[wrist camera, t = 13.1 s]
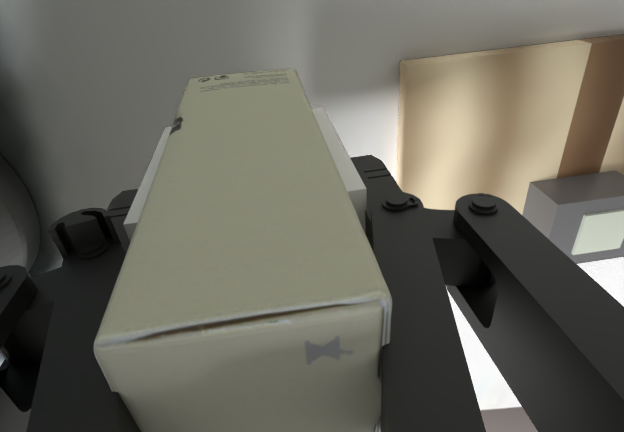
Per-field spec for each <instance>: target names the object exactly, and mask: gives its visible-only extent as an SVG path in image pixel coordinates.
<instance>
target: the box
mask: <svg viewBox="0 0 624 432" xmlns="http://www.w3.org/2000/svg"><path fill="white" fill-rule="evenodd" d="M391 314H392V298H391V295H390V292H389V289H388V287H387V285H386V282H385V280H384V278H383V276H382V273H381V271H380V268H379V265H378V263H377V260H376V258H375V255H374V253H373V251H372V248H371V246H370V244H369V241H368V239H367V237H366V235H365V233H364V230H363V228H362V226H361V224H360V221H359V219H358V216H357V213H356V211H355V208H354V206H353V204H352V202H351V199H350V197H349V195H348V192H347V190H346V188H345V185H344V183H343V180H342V178H341V176H340V174H339V171H338V169H337V166H336V164H335V162H334V160H333V157H332V155H331V153H330V150H329V148H328V146H327V143H326V141H325V139H324V136H323V134H322V132H321V129H320V127H319V125H318V122H317V120H316V118H315V115H314V113H313V111H312V109H311V106H310V104H309V101H308V99H307V97H306V95H305V92H304V90H303V87H302V85H301V82H300V80H299V77H298V75H297V72H296V71H295V70H294V69H281V70H266V71H254V72H244V73H234V74H223V75H213V76H206V77H198V78H192V79H190V80H189V81H188V83H187V86H186V89H185V91H184V94H183V97H182V100H181V103H180V105H179V108H178V111H177V114H176V117H175V120H174V123H173V126H172V128H171V131H170V134H169V137H168V139H167V142H166V145H165V148H164V151H163V153H162V156H161V159H160V161H159V164H158V167H157V170H156V173H155V176H154V179H153V181H152V184H151V187H150V190H149V193H148V195H147V198H146V201H145V203H144V206H143V209H142V212H141V214H140V217H139V220H138V223H137V226H136V229H135V231H134V234H133V237H132V240H131V242H130V245H129V248H128V251H127V253H126V256H125V259H124V262H123V265H122V267H121V270H120V273H119V275H118V278H117V281H116V283H115V286H114V289H113V292H112V295H111V297H110V300H109V303H108V306H107V308H106V311H105V314H104V316H103V319H102V322H101V325H100V328H99V331H98V333H97V336H96V338H95V341H94V354H95V357H96V359H97V361H98V363H99V365H100V367H101V369H102V372H103V374H104V376H105V378H106V380H107V382H108V384H109V386H110V388H111V391H113V392H118V393H119V395H120V396H121V398H122V400H123V402H124V403H125V405H126V407H127V408H128V410H129V412H130V414H131V415H132V417H133V419H134V420H135V422H136V424H137V425H138V427H139V429H140V431H141V432H381V428H380V424H381V367H382V346H383V345H386V344H388V343H389V342H390V331H391Z"/></svg>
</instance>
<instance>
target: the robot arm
mask: <svg viewBox="0 0 624 432" xmlns="http://www.w3.org/2000/svg"><path fill="white" fill-rule="evenodd" d="M311 109H312V111H313V113H314V115H315V118H316V120H317V122H318V125H319V127H320V129H321V132H322V134H323V136H324V139H325V141H326V143H327V146H328V148H329V150H330V153H331V155H332V157H333V160H334V162H335V164H336V166H337V169H338V171H339V174H340V176H341V178H342V180H343V183H344V185H345V188H346V190H347V192H348V195H349V197H350V199H351V202H352V204H353V206H354V208H355V211H356V213H357V216H358V219H359V221H360V224H361V226H362V228H363V230H364V233H365V235H366V237H367V239H368V241H369V244H370V246H371V248H372V251H373V253H374V255H375V258H376V260H377V263H378V265H379V268H380V271H381V273H382V276H383V278H384V280H385V282H386V285H387V287H388V289H389V292H390V295H391V298H392V314H391V331H390V342H389V343H388V344H386V345H383V346H382V367H381V424H380V428H381V432H486V430H485V427H484V423H483V420H482V416H481V412H480V409H479V405H478V402H477V398H476V394H475V391H474V387H473V383H472V380H471V376H470V373H469V369H468V365H467V362H466V358H465V355H464V351H463V347H462V344H461V340H460V336H459V333H458V329H457V326H456V322H455V318H454V315H453V311H452V308H451V304H450V300H449V297H448V293H447V290H448V291H449V293H450V294H451V296H452V298H453V299H454V301H455V302H456V304H457V305H458V307H459V308H460V310H461V312H462V313H463V315H464V316H465V318H466V319H467V321H468V323H469V324H470V326H471V327H472V329H473V330H474V332H475V334H476V335H477V337H478V338H479V340H480V341H481V343H482V344H483V346H484V348H485V349H486V351H487V352H488V354H489V355H490V357H491V359H492V360H493V362H494V363H495V365H496V366H497V368H498V369H499V371H500V373H501V374H502V376H503V377H504V379H505V380H506V382H507V384H508V385H509V387H510V388H511V390H512V391H513V393H514V394H515V396H516V398H517V399H518V401H519V402H520V404H521V405H522V407H523V408H524V410H525V412H526V413H527V415H528V416H529V418H530V420H531V421H532V423H533V424H534V426H535V427H536V429H537V430H538V432H624V307H623V306H622V305H621V304H620V303H619V302H618V301H617V300H616V299H614V298H613V297H612V296H611V295H610V294H609V293H608V292H607V291H606V290H604V289H603V288H602V287H601V286H600V285H599V284H598V283H597V282H596V281H594V280H593V279H592V278H591V277H590V276H589V275H588V274H587V273H586V272H584V271H583V270H582V269H581V268H580V267H579V266H578V265H577V264H576V263H575V262H573V261H572V260H571V259H570V258H569V257H568V256H567V255H566V254H565V253H563V252H562V251H561V250H560V249H559V248H558V247H557V246H556V245H555V244H553V243H552V242H551V241H550V240H549V239H548V238H547V237H546V236H545V235H543V234H542V233H541V232H540V231H539V230H538V229H537V228H536V227H535V226H533V225H532V224H531V223H530V222H529V221H528V220H527V219H526V218H525V217H524V216H522V215H521V214H520V213H519V212H518V211H517V210H516V209H515V208H514V207H512V206H511V205H510V204H509V203H508V202H506V201H505V200H503V199H502V198H499V197H496V196H493V195H491V194H484V193H478V194H468V195H465V196H462V197H460V198H459V199H458V200H457V201H456V204H455V210H437V209H428V208H424V206H423V203H422V202H421V200H420V199H419V198H418V197H416V196H414V195H413V194H409V193H405V192H403V191H402V190H401V188H400V187H399V186H398V184H397V183H396V181H395V180H394V178H393V177H392V176H391V174H390V172H389V171H388V170H387V168H386V166H385V165H384V163H383V162H382V161H381V160H380V159H378V158H376V157H374V156H372V155H367V156H360V157H353V158H350V157H349V155H348V153H347V151H346V149H345V147H344V146H343V144H342V142H341V140H340V138H339V136H338V134H337V132H336V131H335V129H334V127H333V125H332V123H331V121H330V119H329V117H328V116H327V114H326V112H325V110H324V108H323V107H317V108H311ZM171 128H172V127H165V129H164V132H163V134H162V136H161V139H160V141H159V143H158V145H157V148H156V150H155V152H154V155H153V157H152V159H151V162H150V164H149V166H148V168H147V171H146V173H145V175H144V178H143V180H142V182H141V185H140V187H139V189H134V190H127V191H122V192H121V193H120V194H119V195H118V196H116V197H115V198H114V199H113V200H112V201H111V203H110V205H109V207H108V209H107V211H106V210H104V209H102V208H89V209H82V210H79V211H76V212H73V213H70V214H68V215H66V216H64V217H62V218H60V219H59V220H58V221H56V222H55V223H54V224H53V225H52V226H51V228H50V229H49V232H50V234H51V236H52V238H53V240H54V242H55V243H56V245H57V247H58V249H59V251H60V253H61V255H62V257H63V263H62V267H60V268H57V269H55V270H52V271H49V272H46V273H43V274H40V275H37V276H34V277H31V276H30V275H29V273H28V272H29V271H30V269H31V268H32V266H33V264H34V262H35V260H36V257H37V254H38V251H39V246H40V225H39V220H38V216H37V212H36V209H35V206H34V204H33V201H32V199H31V197H30V195H29V193H28V191H27V189H26V188H25V186H24V184H23V183H22V181H21V180H20V178H19V177H18V176H17V174H16V173H15V172H14V170H13V169H12V168H11V167H10V166H9V164H8V163H7V162H6V161H5V160H4V159H3V158H2V157H1V156H0V353H1V354H2V355H3V357H4V358H5V360H4V362H3V363H2V365H1V366H0V432H141V431H140V429H139V427H138V425H137V424H136V422H135V420H134V419H133V417H132V415H131V414H130V412H129V410H128V408H127V407H126V405H125V403H124V402H123V400H122V398H121V396H120V395H119V393H118V392H113V391H111V388H110V386H109V384H108V382H107V380H106V378H105V376H104V374H103V372H102V369H101V367H100V365H99V363H98V361H97V359H96V357H95V354H94V341H95V338H96V336H97V333H98V331H99V328H100V325H101V322H102V319H103V316H104V314H105V311H106V308H107V306H108V303H109V300H110V297H111V295H112V292H113V289H114V286H115V283H116V281H117V278H118V275H119V273H120V270H121V267H122V265H123V262H124V259H125V256H126V253H127V251H128V248H129V245H130V242H131V240H132V237H133V234H134V231H135V229H136V226H137V223H138V220H139V217H140V214H141V212H142V209H143V206H144V203H145V201H146V198H147V195H148V193H149V190H150V187H151V184H152V181H153V179H154V176H155V173H156V170H157V167H158V164H159V161H160V159H161V156H162V153H163V151H164V148H165V145H166V142H167V139H168V137H169V134H170V131H171ZM445 285H446V286H445ZM446 287H447V289H446Z"/></svg>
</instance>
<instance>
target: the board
mask: <svg viewBox="0 0 624 432" xmlns="http://www.w3.org/2000/svg"><path fill="white" fill-rule="evenodd" d="M615 170H616V171H617V172H619V173H621V174H623V175H624V34H622V35H614V36H605V37H597V38H589V39H580V40H572V41H563V42H555V43H546V44H538V45H530V46H521V47H513V48H504V49H496V50H488V51H479V52H471V53H462V54H454V55H445V56H437V57H429V58H420V59H412V60H403V61H400V86H399V121H398V155H397V184H398V186H399V187H400V188H401V190H402V191H403V192H405V193H409V194H413V195H414V196H416V197H418V198H419V199H420V200H421V202H422V203H423V206H424V208H428V209H437V210H455V204H456V201H457V200H458V199H459V198H460V197H462V196H465V195H468V194H478V193H484V194H491V195H493V196H496V197H499V198H502V199H503V200H505V201H506V202H508V203H509V204H510V205H511V206H512V207H514V208H515V209H516V210H517V211H518V212H519V213H520V214H521V215H522V214H523V210H524V205H525V201H526V197H527V192H528V188H529V184H530V182H534V181H542V180H549V179H556V178H564V177H571V176H578V175H586V174H593V173H600V172H608V171H615Z"/></svg>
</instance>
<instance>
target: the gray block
mask: <svg viewBox="0 0 624 432" xmlns="http://www.w3.org/2000/svg"><path fill="white" fill-rule="evenodd" d="M522 216H524V217H525V218H526V219H527V220H528V221H529V222H530V223H531V224H532V225H533V226H535V227H536V228H537V229H538V230H539V231H540V232H541V233H542V234H543V235H545V236H546V237H547V238H548V239H549V240H550V241H551V242H552V243H553V244H555V245H556V246H557V247H558V248H559V249H560V250H561V251H562V252H563V253H565V254H566V255H567V256H568V257H569V258H570V259H571V260H572V261H573V262H575V263H576V264H578V263H585V262H592V261H598V260H605V259H612V258H618V257H624V175H623V174H621V173H619V172H617V171H616V170H615V171H608V172H600V173H593V174H586V175H578V176H571V177H564V178H556V179H549V180H542V181H534V182H530V184H529V188H528V192H527V197H526V201H525V205H524V210H523V214H522Z"/></svg>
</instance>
